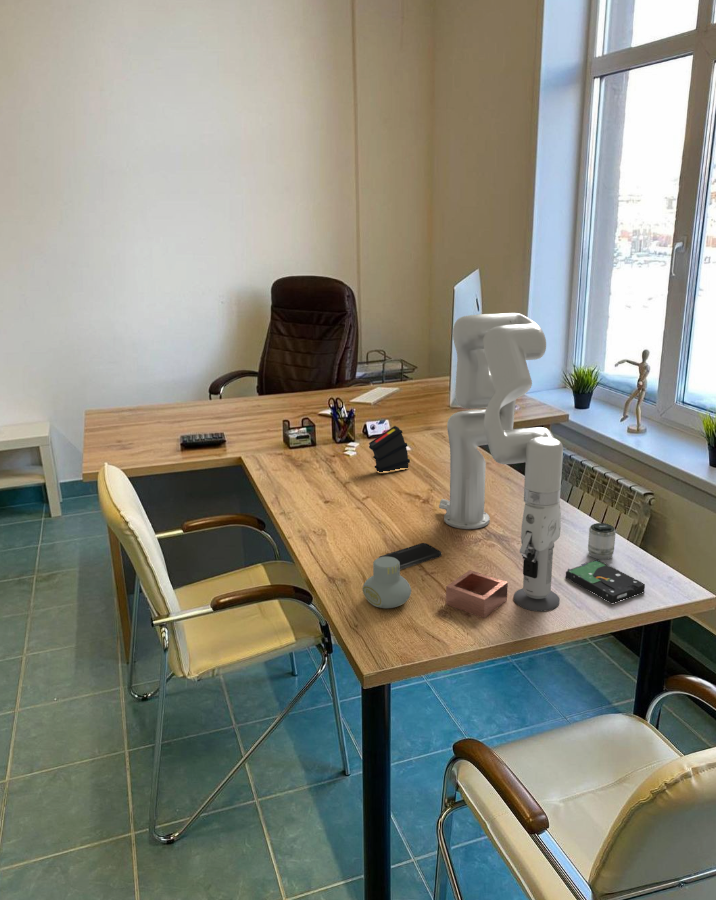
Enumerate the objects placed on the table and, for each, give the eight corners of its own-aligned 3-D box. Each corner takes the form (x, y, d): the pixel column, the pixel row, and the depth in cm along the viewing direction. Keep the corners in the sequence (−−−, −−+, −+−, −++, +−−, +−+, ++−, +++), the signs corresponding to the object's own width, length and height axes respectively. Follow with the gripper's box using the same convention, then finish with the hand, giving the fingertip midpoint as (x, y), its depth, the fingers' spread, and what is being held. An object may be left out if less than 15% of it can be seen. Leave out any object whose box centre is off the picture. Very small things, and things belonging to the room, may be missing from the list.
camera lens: (618, 559, 189) (620, 530, 187) (594, 561, 188) (596, 532, 186) (606, 548, 195) (608, 519, 193) (583, 550, 194) (585, 522, 192)
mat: (505, 601, 171) (505, 599, 171) (527, 584, 178) (527, 582, 178) (546, 616, 164) (546, 614, 164) (567, 597, 172) (567, 595, 172)
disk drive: (645, 594, 173) (595, 568, 186) (646, 583, 173) (596, 558, 185) (612, 607, 169) (564, 579, 181) (613, 596, 168) (564, 568, 180)
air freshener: (358, 598, 174) (356, 558, 171) (386, 587, 179) (386, 548, 175) (387, 617, 166) (386, 576, 162) (416, 606, 170) (416, 565, 167)
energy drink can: (524, 585, 174) (526, 525, 170) (551, 588, 173) (554, 527, 168) (521, 598, 169) (524, 536, 164) (549, 601, 167) (553, 539, 163)
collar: (445, 604, 170) (446, 586, 169) (469, 587, 177) (470, 569, 176) (484, 618, 164) (484, 599, 163) (507, 600, 171) (507, 582, 170)
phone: (443, 552, 193) (394, 568, 186) (443, 556, 194) (394, 572, 186) (424, 542, 200) (376, 556, 192) (424, 546, 200) (376, 560, 192)
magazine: (418, 463, 255) (400, 427, 248) (386, 485, 252) (367, 449, 245) (412, 460, 258) (395, 424, 251) (381, 482, 255) (362, 446, 248)
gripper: (538, 511, 155) (534, 590, 161) (576, 486, 167) (570, 560, 173) (506, 503, 159) (502, 580, 165) (544, 479, 172) (540, 551, 178)
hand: (537, 569), depth 169 cm, fingers open, 6 cm apart
